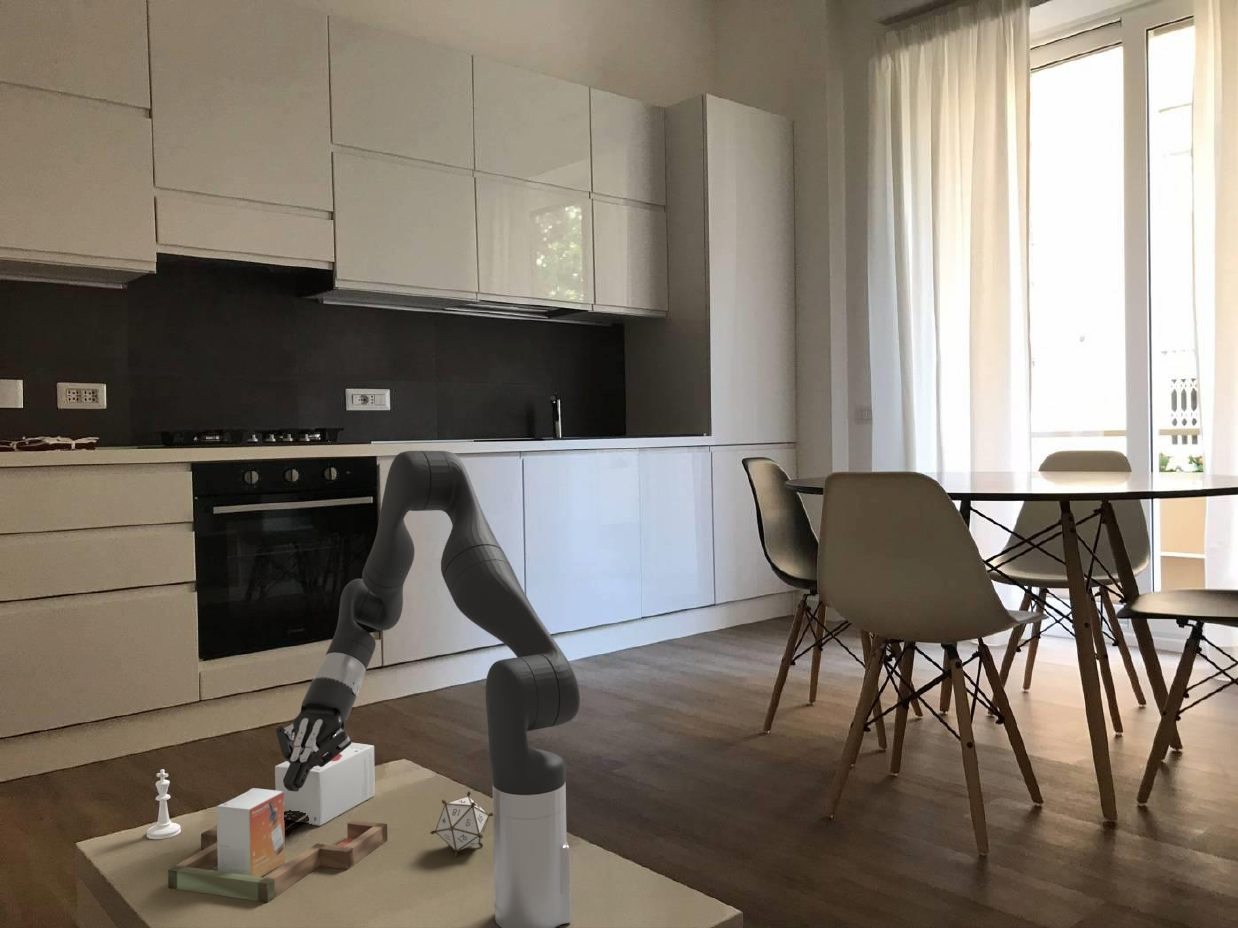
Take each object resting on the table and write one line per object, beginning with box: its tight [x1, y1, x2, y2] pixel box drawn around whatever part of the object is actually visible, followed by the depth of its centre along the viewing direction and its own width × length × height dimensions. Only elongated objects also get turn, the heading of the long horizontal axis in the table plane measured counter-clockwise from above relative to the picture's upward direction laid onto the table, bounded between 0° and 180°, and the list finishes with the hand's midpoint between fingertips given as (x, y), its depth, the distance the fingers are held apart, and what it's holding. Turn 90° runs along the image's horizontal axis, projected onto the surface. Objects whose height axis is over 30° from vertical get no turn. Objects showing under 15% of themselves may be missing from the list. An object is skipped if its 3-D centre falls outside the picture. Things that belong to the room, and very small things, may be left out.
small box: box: [216, 787, 286, 877], centre depth 146 cm, size 8×6×10 cm
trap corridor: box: [167, 819, 389, 903], centre depth 149 cm, size 23×25×2 cm
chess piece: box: [146, 769, 182, 840], centre depth 160 cm, size 5×5×10 cm
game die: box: [429, 790, 493, 858], centre depth 153 cm, size 9×8×10 cm
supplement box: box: [274, 742, 376, 827], centre depth 171 cm, size 9×9×15 cm
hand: (290, 788), depth 154 cm, fingers closed
